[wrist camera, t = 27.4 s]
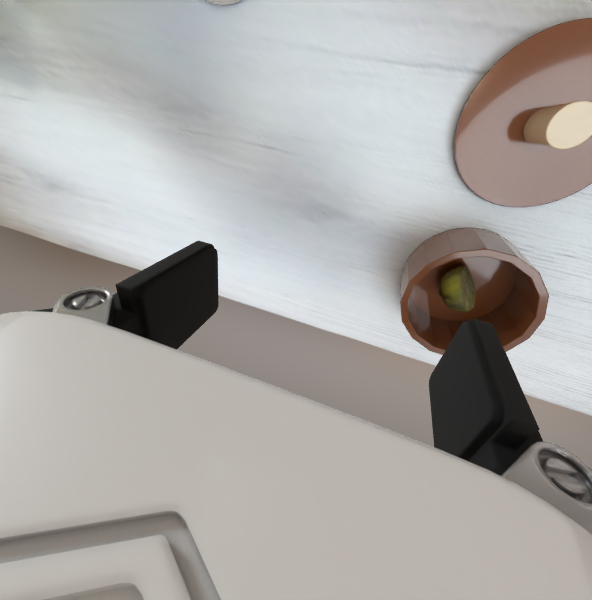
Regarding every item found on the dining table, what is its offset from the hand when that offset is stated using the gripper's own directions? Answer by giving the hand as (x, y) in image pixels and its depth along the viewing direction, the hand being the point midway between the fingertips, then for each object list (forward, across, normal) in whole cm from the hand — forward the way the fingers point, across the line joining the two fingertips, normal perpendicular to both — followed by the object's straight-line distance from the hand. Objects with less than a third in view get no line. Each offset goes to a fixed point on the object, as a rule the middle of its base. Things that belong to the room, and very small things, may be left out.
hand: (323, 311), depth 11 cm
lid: (+26, -12, -8) cm, 29 cm away
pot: (+26, -12, +8) cm, 30 cm away
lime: (+26, -12, +8) cm, 30 cm away
